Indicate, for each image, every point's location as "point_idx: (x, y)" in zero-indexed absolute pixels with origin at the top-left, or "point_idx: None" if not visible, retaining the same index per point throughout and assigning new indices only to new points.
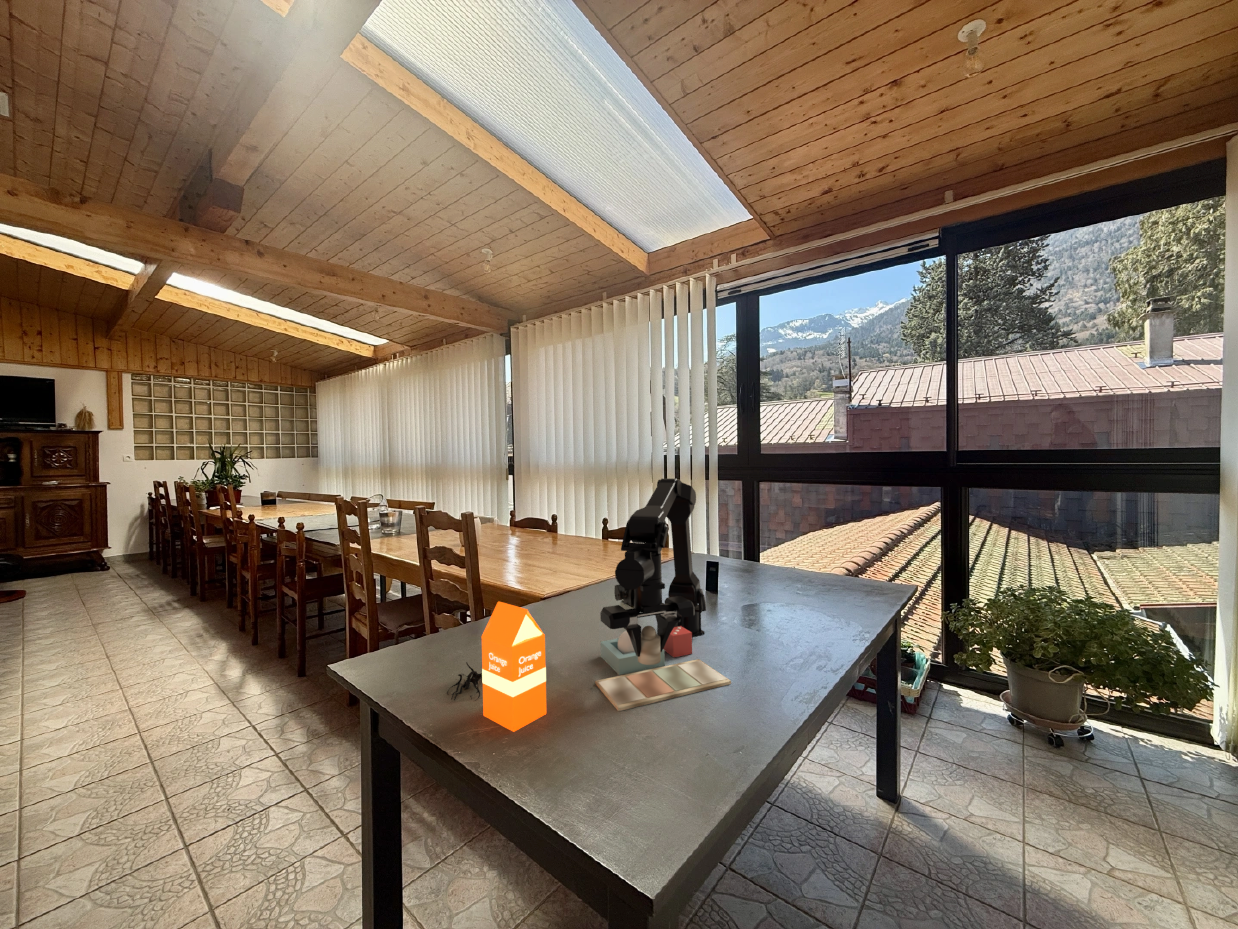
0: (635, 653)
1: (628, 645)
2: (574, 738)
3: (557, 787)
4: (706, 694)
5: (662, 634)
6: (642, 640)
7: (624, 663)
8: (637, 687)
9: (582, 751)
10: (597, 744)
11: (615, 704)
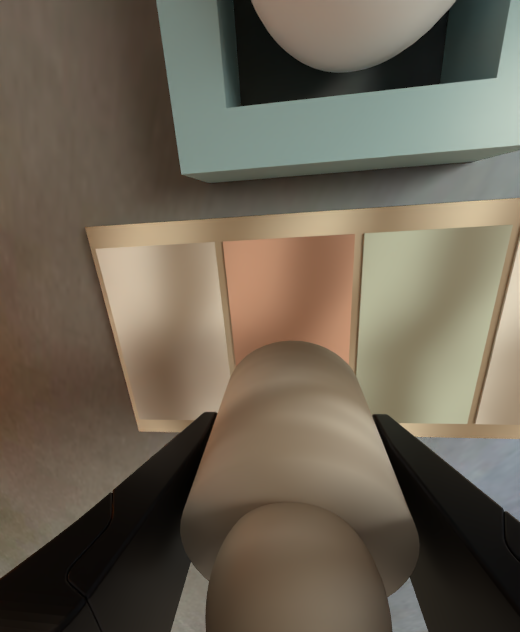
0: (199, 416)
1: (288, 16)
2: (28, 474)
3: (8, 560)
4: (444, 449)
5: (439, 628)
6: (208, 570)
7: (226, 175)
8: (234, 352)
9: (46, 512)
10: (77, 507)
11: (134, 413)
